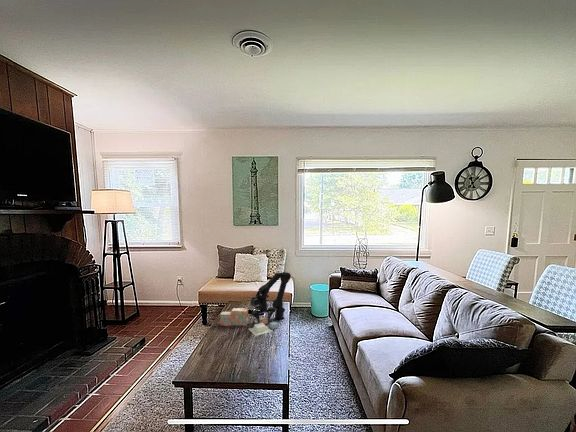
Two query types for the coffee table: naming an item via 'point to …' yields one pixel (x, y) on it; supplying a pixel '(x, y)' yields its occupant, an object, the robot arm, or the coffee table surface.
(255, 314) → the robot arm
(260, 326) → the brick cream
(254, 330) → the baseplate
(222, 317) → the stack of blocks
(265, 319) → the brick terracotta
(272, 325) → the brick blue
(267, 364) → the coffee table surface
